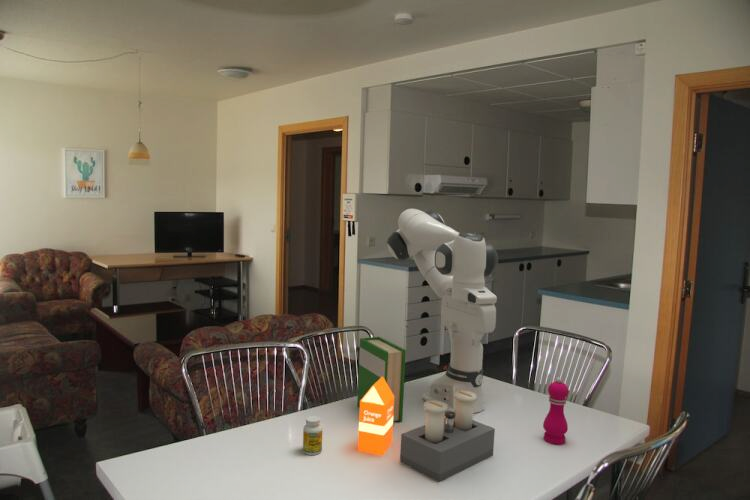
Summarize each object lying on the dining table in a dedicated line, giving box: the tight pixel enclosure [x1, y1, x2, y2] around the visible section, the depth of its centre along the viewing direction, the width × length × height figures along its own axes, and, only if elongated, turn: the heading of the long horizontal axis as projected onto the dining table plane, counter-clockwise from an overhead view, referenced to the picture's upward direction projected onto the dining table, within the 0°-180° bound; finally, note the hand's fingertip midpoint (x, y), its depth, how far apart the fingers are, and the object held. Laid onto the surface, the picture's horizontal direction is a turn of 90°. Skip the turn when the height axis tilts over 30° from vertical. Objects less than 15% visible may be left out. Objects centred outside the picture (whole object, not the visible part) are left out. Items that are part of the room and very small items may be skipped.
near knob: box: [423, 400, 448, 444], centre depth 153 cm, size 6×6×10 cm
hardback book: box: [356, 336, 407, 424], centre depth 188 cm, size 18×7×24 cm, turn 29°
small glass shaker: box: [444, 411, 456, 433], centre depth 158 cm, size 3×3×5 cm
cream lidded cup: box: [454, 391, 477, 432], centre depth 162 cm, size 6×6×10 cm
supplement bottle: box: [302, 415, 323, 456], centre depth 159 cm, size 5×5×10 cm
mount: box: [399, 416, 496, 483], centre depth 159 cm, size 14×24×8 cm, turn 134°
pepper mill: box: [542, 376, 570, 445], centre depth 174 cm, size 7×7×20 cm
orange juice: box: [357, 376, 394, 456], centre depth 163 cm, size 8×9×20 cm
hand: (465, 341), depth 156 cm, fingers open, 8 cm apart
